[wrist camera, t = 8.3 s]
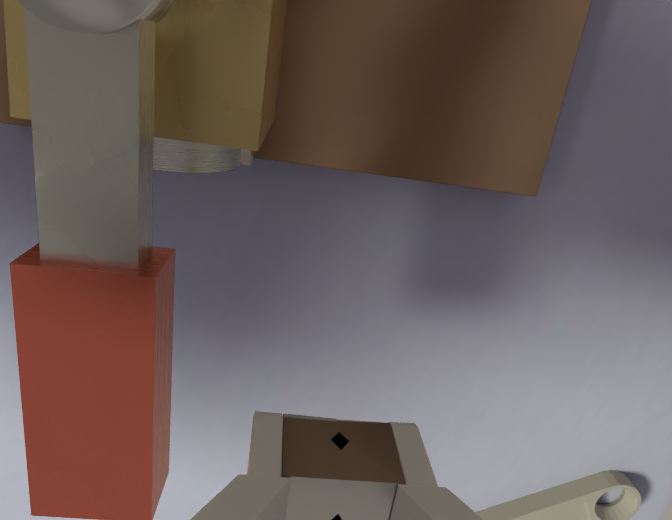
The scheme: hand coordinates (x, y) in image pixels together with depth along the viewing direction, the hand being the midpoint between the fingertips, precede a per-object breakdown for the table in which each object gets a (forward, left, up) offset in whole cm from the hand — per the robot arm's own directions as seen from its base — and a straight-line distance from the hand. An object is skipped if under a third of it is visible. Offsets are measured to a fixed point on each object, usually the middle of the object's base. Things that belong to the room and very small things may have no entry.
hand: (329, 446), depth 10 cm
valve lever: (-5, +3, -3) cm, 6 cm away
